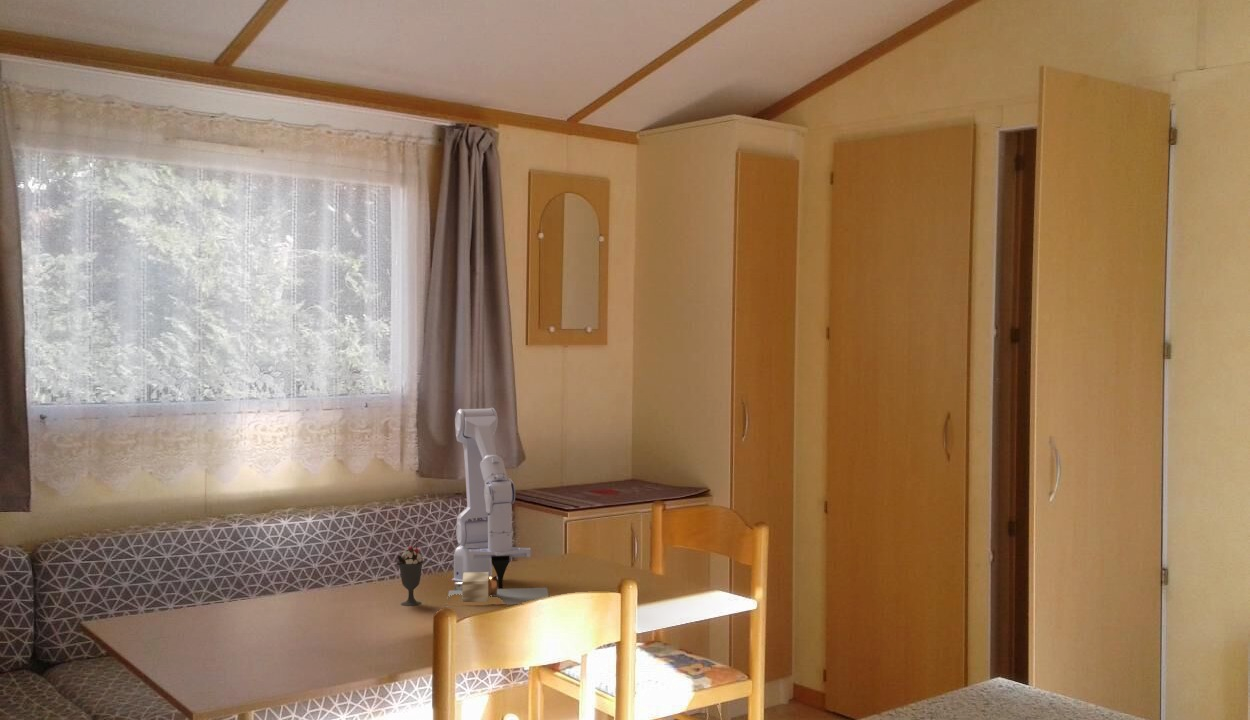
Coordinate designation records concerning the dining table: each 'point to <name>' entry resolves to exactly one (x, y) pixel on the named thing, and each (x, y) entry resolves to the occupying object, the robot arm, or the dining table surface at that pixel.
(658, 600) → the dining table surface
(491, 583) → the pin
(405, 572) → the sundae
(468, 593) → the hitch block
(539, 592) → the mat
